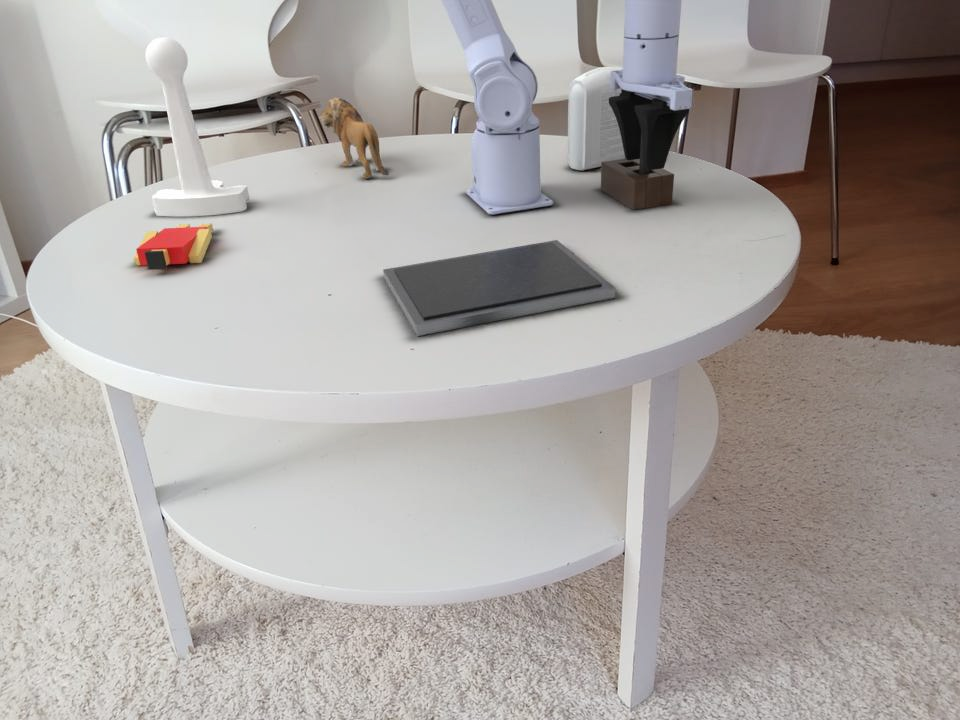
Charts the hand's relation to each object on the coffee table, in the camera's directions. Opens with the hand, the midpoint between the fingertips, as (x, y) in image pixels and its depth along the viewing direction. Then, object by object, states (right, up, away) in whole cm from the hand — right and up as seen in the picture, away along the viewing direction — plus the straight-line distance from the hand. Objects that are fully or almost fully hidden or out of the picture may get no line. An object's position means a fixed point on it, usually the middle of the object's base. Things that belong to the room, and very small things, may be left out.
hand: (644, 163), depth 89 cm
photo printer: (-2, +4, +17) cm, 18 cm away
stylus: (0, -4, +2) cm, 4 cm away
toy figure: (-51, -11, -5) cm, 53 cm away
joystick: (-53, -3, +9) cm, 54 cm away
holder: (0, -3, +4) cm, 5 cm away
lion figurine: (-36, +4, +21) cm, 42 cm away
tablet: (-17, -16, -17) cm, 29 cm away
